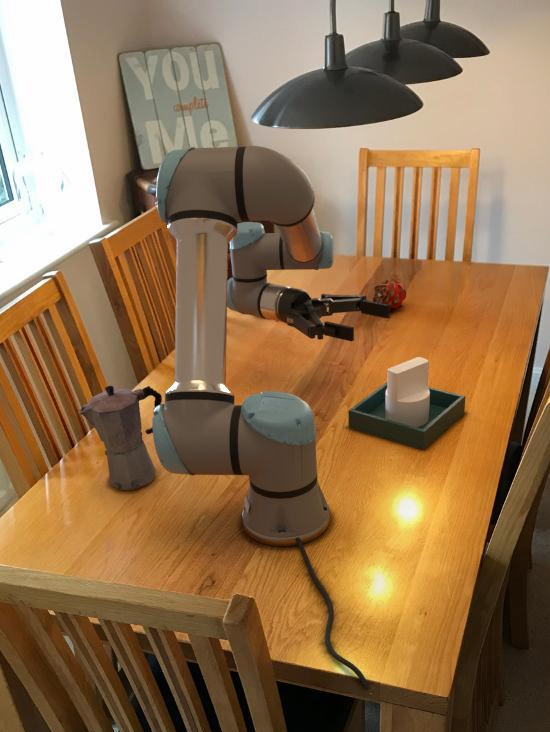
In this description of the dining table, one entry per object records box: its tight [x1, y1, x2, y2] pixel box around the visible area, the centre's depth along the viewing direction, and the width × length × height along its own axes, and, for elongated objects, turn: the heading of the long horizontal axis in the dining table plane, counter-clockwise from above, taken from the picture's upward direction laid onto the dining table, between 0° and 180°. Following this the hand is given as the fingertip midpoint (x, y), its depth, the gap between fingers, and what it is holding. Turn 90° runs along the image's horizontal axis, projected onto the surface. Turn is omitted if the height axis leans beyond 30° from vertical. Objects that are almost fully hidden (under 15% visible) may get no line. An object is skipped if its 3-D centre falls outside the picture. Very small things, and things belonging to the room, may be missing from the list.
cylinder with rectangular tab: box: [385, 356, 430, 427], centre depth 171 cm, size 9×9×12 cm
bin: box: [347, 381, 466, 451], centre depth 174 cm, size 18×18×4 cm
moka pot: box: [78, 385, 163, 491], centre depth 157 cm, size 10×15×20 cm, turn 117°
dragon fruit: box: [372, 278, 407, 311], centre depth 225 cm, size 8×8×12 cm
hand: (371, 322), depth 168 cm, fingers open, 13 cm apart
